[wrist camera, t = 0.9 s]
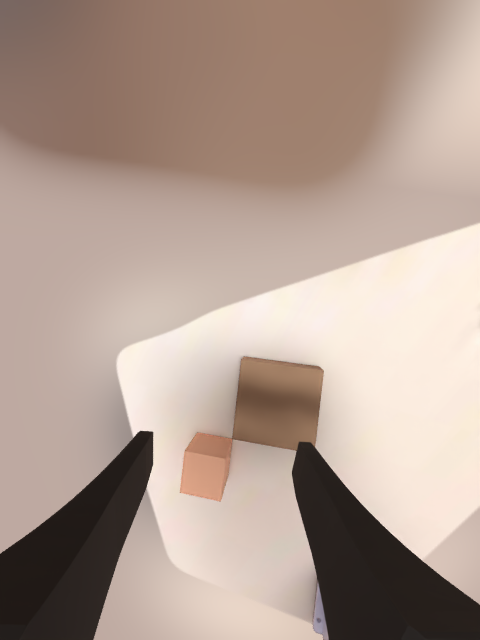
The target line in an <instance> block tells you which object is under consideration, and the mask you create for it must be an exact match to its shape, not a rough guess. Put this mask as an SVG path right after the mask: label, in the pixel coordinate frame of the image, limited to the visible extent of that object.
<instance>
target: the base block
mask: <svg viewBox="0 0 480 640" xmlns="http://www.w3.org/2000/svg"><path fill="white" fill-rule="evenodd" d="M323 373H324V370H322V369H321V368H320V367H318V366H311V365H303V364H296V363H288V362H281V361H274V360H266V359H259V358H251V357H243V358H242V359H241V367H240V376H239V385H238V393H237V402H236V411H235V419H234V428H233V437H232V439H235V440H240V441H246V442H252V443H257V444H263V445H268V446H274V447H279V448H285V449H290V450H296V451H297V448H298V444H299V441H300V442H311V443H312V444H313V446H314V447H315V443H316V434H317V426H318V417H319V408H320V400H321V391H322V382H323Z"/></svg>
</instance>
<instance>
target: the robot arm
mask: <svg viewBox="0 0 480 640" xmlns="http://www.w3.org/2000/svg"><path fill="white" fill-rule="evenodd" d="M152 466H153V432H149V431H140V432H138V433H137V434H136V436H135V437H134V438H133V439H132V440H131V441H130V443H129V444H128V445H127V446H126V447H125V448H124V449H123V450H122V451H121V452H120V454H119V455H118V456H117V457H116V458H115V459H114V460H113V461H112V462H111V463H110V464H109V465H108V466H107V467H106V468H105V469H104V470H103V471H102V472H101V473H100V474H99V475H98V476H97V477H96V478H95V479H94V480H93V481H92V482H91V483H90V484H89V485H87V486H86V487H85V488H84V489H83V490H82V491H81V492H80V493H79V494H78V495H76V496H75V497H74V498H73V499H72V500H71V501H69V502H68V503H67V504H66V505H65V506H63V507H62V508H61V509H60V510H59V511H58V512H56V513H55V514H54V515H52V516H51V517H50V518H49V519H47V520H46V521H45V522H44V523H42V524H41V525H40V526H39V527H37V528H36V529H35V530H33V531H32V532H30V533H29V534H28V535H26V536H25V537H23V538H22V539H21V540H19V541H18V542H16V543H15V544H13V545H12V546H11V547H9V548H8V549H6V550H5V551H3V552H2V553H1V554H0V640H93V639H94V636H95V632H96V629H97V626H98V622H99V619H100V616H101V613H102V609H103V605H104V603H105V599H106V596H107V593H108V590H109V586H110V584H111V580H112V577H113V574H114V571H115V568H116V565H117V562H118V559H119V555H120V553H121V550H122V548H123V545H124V542H125V540H126V537H127V535H128V533H129V530H130V528H131V525H132V522H133V520H134V517H135V515H136V512H137V510H138V507H139V505H140V502H141V500H142V497H143V495H144V492H145V490H146V487H147V484H148V480H149V477H150V473H151V470H152ZM292 477H293V483H294V489H295V494H296V499H297V502H298V506H299V510H300V513H301V517H302V520H303V524H304V528H305V531H306V535H307V538H308V542H309V545H310V549H311V552H312V556H313V561H314V565H315V569H316V574H317V579H318V583H317V592H316V600H315V609H314V618H313V629H314V631H315V632H316V633H319V634H322V635H323V640H480V605H479V604H478V603H477V602H475V601H474V600H473V599H471V598H470V597H469V596H467V595H466V594H464V593H463V592H462V591H460V590H459V589H458V588H456V587H455V586H454V585H452V584H451V583H450V582H448V581H447V580H446V579H444V578H443V577H442V576H440V575H439V574H438V573H437V572H435V571H434V570H433V569H432V568H430V567H429V566H428V565H427V564H426V563H424V562H423V561H422V560H421V559H419V558H418V557H417V556H416V555H415V554H414V553H412V552H411V551H410V550H409V549H408V548H407V547H405V546H404V545H403V544H402V543H401V542H400V541H399V540H398V539H397V538H395V537H394V536H393V535H392V534H391V533H390V532H389V531H388V530H387V529H386V528H385V527H384V526H383V525H382V524H381V523H380V522H379V521H378V520H377V519H376V518H375V517H374V516H373V515H372V514H371V513H370V512H369V511H368V510H367V509H366V508H365V507H364V506H363V505H362V504H361V503H360V502H359V501H358V500H357V499H356V497H355V496H354V495H353V494H352V493H351V492H350V491H349V490H348V488H347V487H346V486H345V485H344V484H343V482H342V481H341V480H340V479H339V478H338V476H337V475H336V474H335V473H334V471H333V470H332V469H331V468H330V466H329V465H328V464H327V462H326V461H325V460H324V459H323V457H322V456H321V455H320V453H319V452H318V451H317V449H316V448H315V447H314V446H313V444H312V443H311V442H300V441H299V444H298V448H297V452H296V457H295V461H294V465H293V470H292ZM318 618H319V619H318Z"/></svg>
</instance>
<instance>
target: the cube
mask: <svg viewBox="0 0 480 640" xmlns="http://www.w3.org/2000/svg"><path fill="white" fill-rule="evenodd" d="M231 447H232V439H230V438H224V437H219V436H213V435H208V434H202V433H197V434H196V435H195V437H194V438H193V439H192V441H191V442H190V444H189V445H188V447H187V448H186V450H185V452H184V461H183V469H182V478H181V487H180V493H184V494H189V495H193V496H198V497H202V498H207V499H211V500H216V501H221V499H222V495H223V492H224V488H225V485H226V481H227V478H228V473H229V464H230V456H231Z"/></svg>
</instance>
